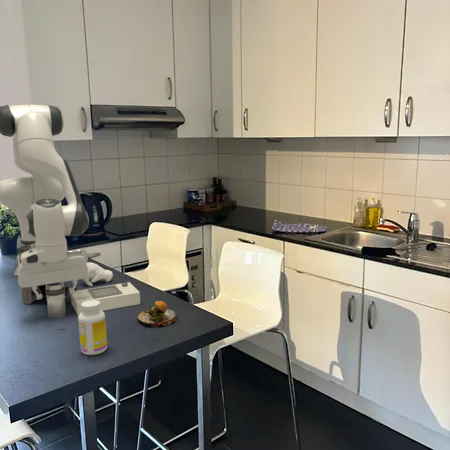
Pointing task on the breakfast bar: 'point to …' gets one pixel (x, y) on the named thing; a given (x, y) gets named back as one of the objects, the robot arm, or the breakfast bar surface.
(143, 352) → the breakfast bar surface
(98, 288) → the camera body
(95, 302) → the supplement bottle
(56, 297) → the lens
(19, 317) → the breakfast bar surface
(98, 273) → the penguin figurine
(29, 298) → the vintage camera
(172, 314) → the burger
